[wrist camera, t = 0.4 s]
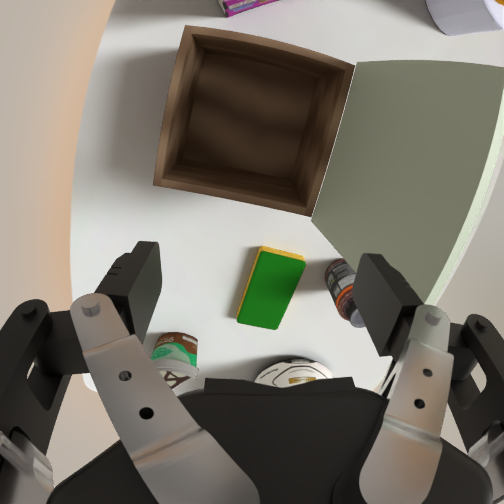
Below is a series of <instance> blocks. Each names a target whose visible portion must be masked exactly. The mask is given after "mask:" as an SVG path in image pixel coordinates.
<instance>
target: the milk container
mask: <svg viewBox="0 0 504 504" xmlns="http://www.w3.org/2000/svg"><path fill="white" fill-rule="evenodd" d="M327 378H333V376H332V374H331V373H330V371H329V370H328V369H327V368H326V367H325V366H324V365H322V364H320V363H318V362H316V361H312V360H307V359H294V360H287V361H283V362H279V363H276V364H274V365H272V366H270V367H268V368H266V369H265V370H263V371H262V372H261V373H260V374H259V375H258V377H257V378H256V380H255V381H254V382H255V383H260V384H265V385H270V386H275V387H281V388H284V387H289V386H293V385H297V384H301V383H305V382H309V381H313V380H317V379H327Z"/></svg>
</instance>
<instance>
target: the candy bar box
mask: <svg viewBox="0 0 504 504" xmlns="http://www.w3.org/2000/svg"><path fill="white" fill-rule="evenodd" d="M275 1H279V0H218V2H219V4H220V6H221V8H222V10H223V12H224V14H225V16H226V17H230V16H233V15H236V14H238V13H241V12H244V11H247V10H249V9H253V8H256V7H259V6H262V5H265V4H268V3H272V2H275Z"/></svg>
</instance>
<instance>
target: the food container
mask: <svg viewBox="0 0 504 504" xmlns="http://www.w3.org/2000/svg"><path fill="white" fill-rule="evenodd" d="M197 341H198V340H197V339H196V338H194V337H193V336H190V335H188V334H185V333H180V332H169V333H166V334H163V335H162V336H161V337H159V339H158V341H157V343H156V346H155V348H154V351H153V353H152V356H151V360H152V361H153V363H154V364H155V366H156V368H157V369H158V371H159V372H160V374H161V375H162V376H163V378H164V379H165V381H166V382H167V384H168V385H169V387H170V388H171V389H173V388H174V387H176V386H177V385H179V384H180V383H182V382H183V381H185V380H187V379H189V378H193V379H195V380H196V376H197V374H198V371H199V369H198V368H196V363H197Z"/></svg>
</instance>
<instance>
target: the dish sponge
mask: <svg viewBox="0 0 504 504" xmlns="http://www.w3.org/2000/svg"><path fill="white" fill-rule="evenodd" d="M305 266H306V263H305V260H304V258H303V256H301V255H297V254H293V253H289V252H285V251H281V250H277V249H273V248H269V247H265V246H261V247H259V250H258V253H257V256H256V259H255V262H254V265H253V268H252V271H251V274H250V277H249V280H248V283H247V286H246V289H245V291H244V294H243V297H242V300H241V303H240V306H239V309H238V312H237V322H238V323H241V324H246V325H251V326H256V327H262V328H267V329H273V330H276V329H277V328H278V326H279V324H280V322H281V320H282V318H283V315H284V313H285V311H286V309H287V307H288V304H289V302H290V300H291V298H292V296H293V293H294V291H295V289H296V286H297V284H298V282H299V280H300V277H301V275H302V273H303V270H304V268H305Z"/></svg>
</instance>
